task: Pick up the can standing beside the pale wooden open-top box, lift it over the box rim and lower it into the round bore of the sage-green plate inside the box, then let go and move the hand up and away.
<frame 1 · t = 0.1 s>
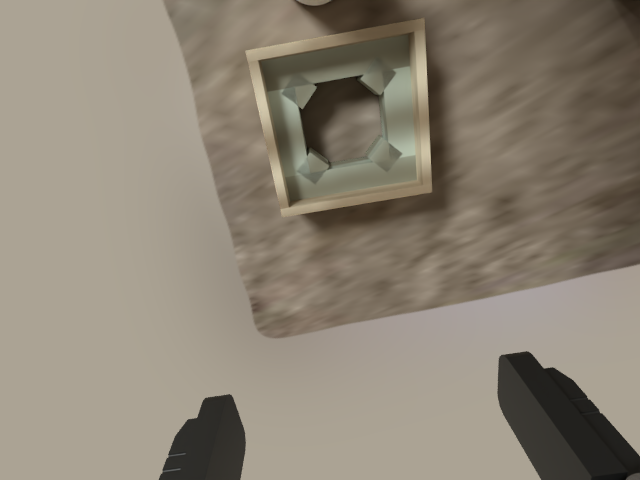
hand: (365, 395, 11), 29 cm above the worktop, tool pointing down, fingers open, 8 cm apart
bore box: (341, 121, 36), on the worktop
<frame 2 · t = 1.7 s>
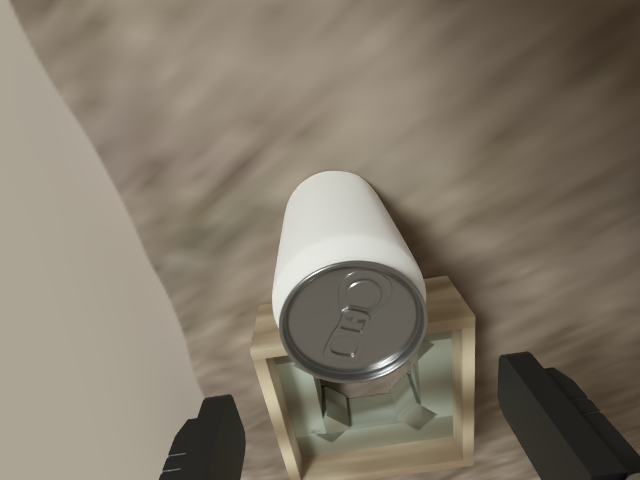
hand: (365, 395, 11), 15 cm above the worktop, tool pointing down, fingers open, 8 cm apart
can: (333, 215, 25), on the worktop
bore box: (363, 362, 30), on the worktop
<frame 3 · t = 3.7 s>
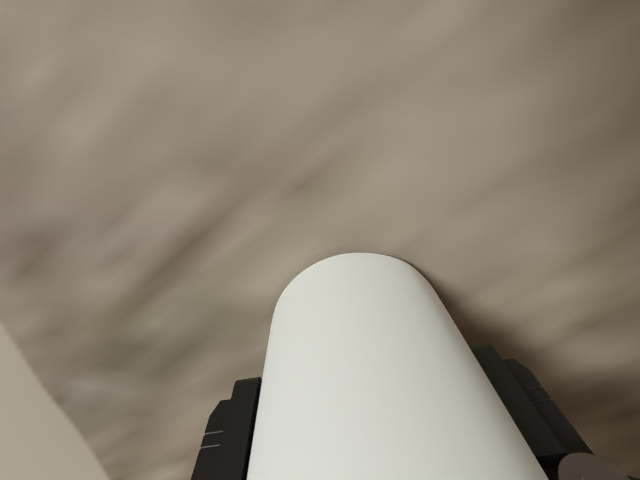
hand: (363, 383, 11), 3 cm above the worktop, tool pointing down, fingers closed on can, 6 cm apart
can: (354, 318, 15), on the worktop, touching gripper
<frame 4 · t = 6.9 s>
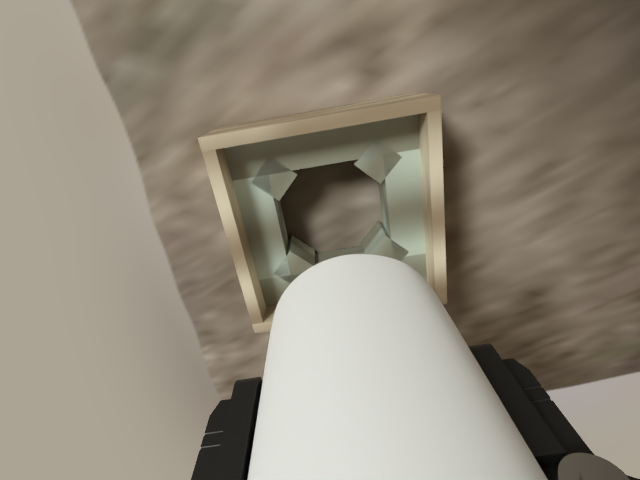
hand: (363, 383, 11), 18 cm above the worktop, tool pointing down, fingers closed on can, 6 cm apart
can: (355, 319, 15), point 15 cm above the worktop, touching gripper
bore box: (331, 205, 28), on the worktop
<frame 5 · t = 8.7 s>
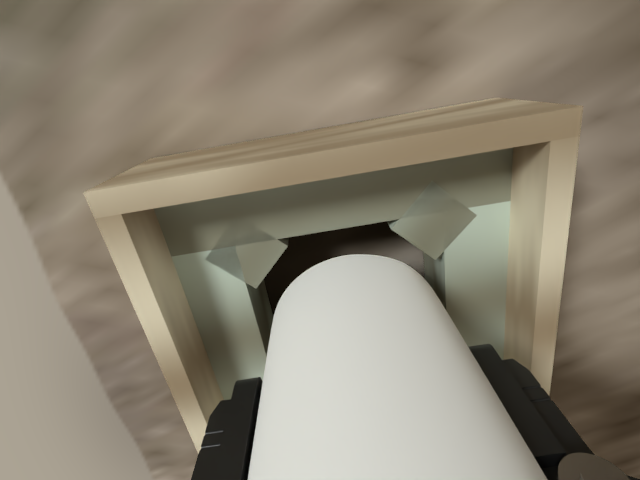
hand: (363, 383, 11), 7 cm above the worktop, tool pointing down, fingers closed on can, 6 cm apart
can: (355, 319, 15), point 3 cm above the worktop, touching gripper
bore box: (344, 278, 18), on the worktop
when the fingers open (5 cm above the worktop, at t = 10.1 s): can drops 2 cm, resting in bore box.
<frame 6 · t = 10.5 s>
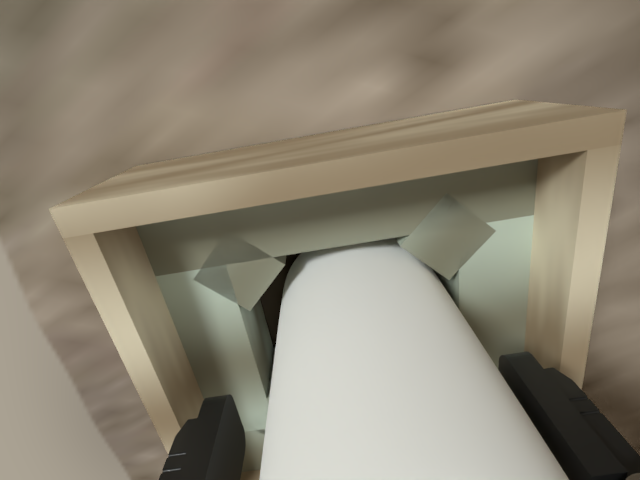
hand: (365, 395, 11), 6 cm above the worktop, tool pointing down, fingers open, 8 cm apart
can: (356, 289, 16), resting in bore box
bore box: (347, 295, 16), on the worktop
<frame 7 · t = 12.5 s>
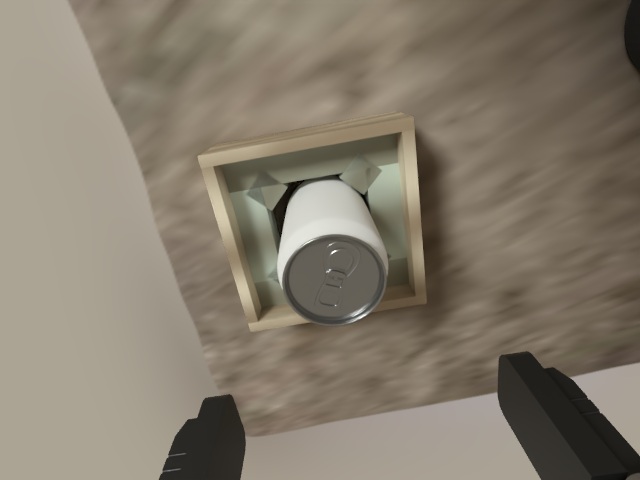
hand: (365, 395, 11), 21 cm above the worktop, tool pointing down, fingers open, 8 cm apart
can: (325, 210, 31), resting in bore box
bore box: (320, 213, 31), on the worktop
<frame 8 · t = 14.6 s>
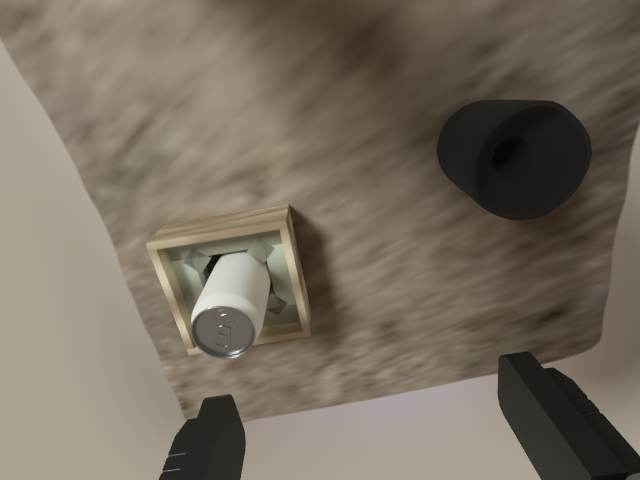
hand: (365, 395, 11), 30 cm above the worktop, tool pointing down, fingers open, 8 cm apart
pen holder: (476, 144, 38), on the worktop
can: (245, 268, 43), resting in bore box
bore box: (241, 270, 43), on the worktop
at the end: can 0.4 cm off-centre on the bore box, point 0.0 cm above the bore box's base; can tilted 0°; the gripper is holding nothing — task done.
